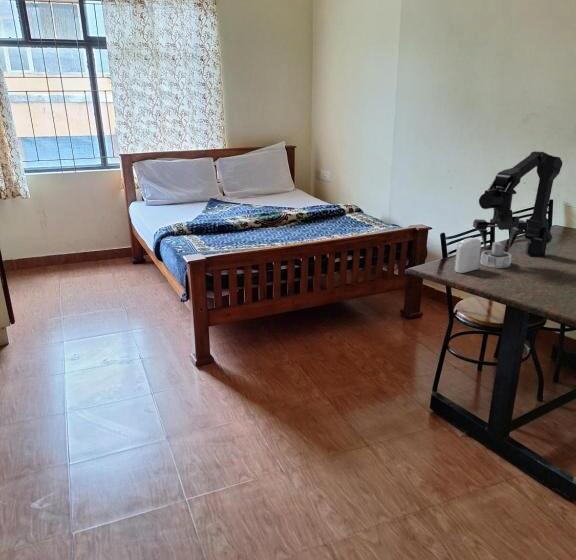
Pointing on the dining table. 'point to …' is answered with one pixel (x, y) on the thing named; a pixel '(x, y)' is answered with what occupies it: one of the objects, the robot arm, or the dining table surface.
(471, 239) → the photo printer
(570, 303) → the dining table surface
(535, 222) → the robot arm
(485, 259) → the faceted white dish
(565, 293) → the dining table surface
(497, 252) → the grey knob
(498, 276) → the dining table surface
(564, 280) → the dining table surface
